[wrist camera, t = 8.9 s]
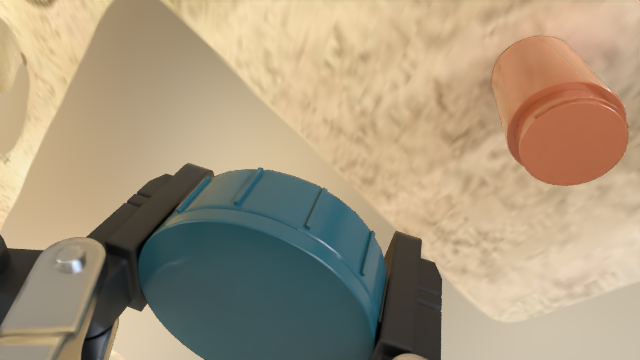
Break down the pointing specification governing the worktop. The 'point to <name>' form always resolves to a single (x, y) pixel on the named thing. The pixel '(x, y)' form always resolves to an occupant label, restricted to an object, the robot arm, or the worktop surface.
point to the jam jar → (557, 112)
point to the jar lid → (265, 271)
